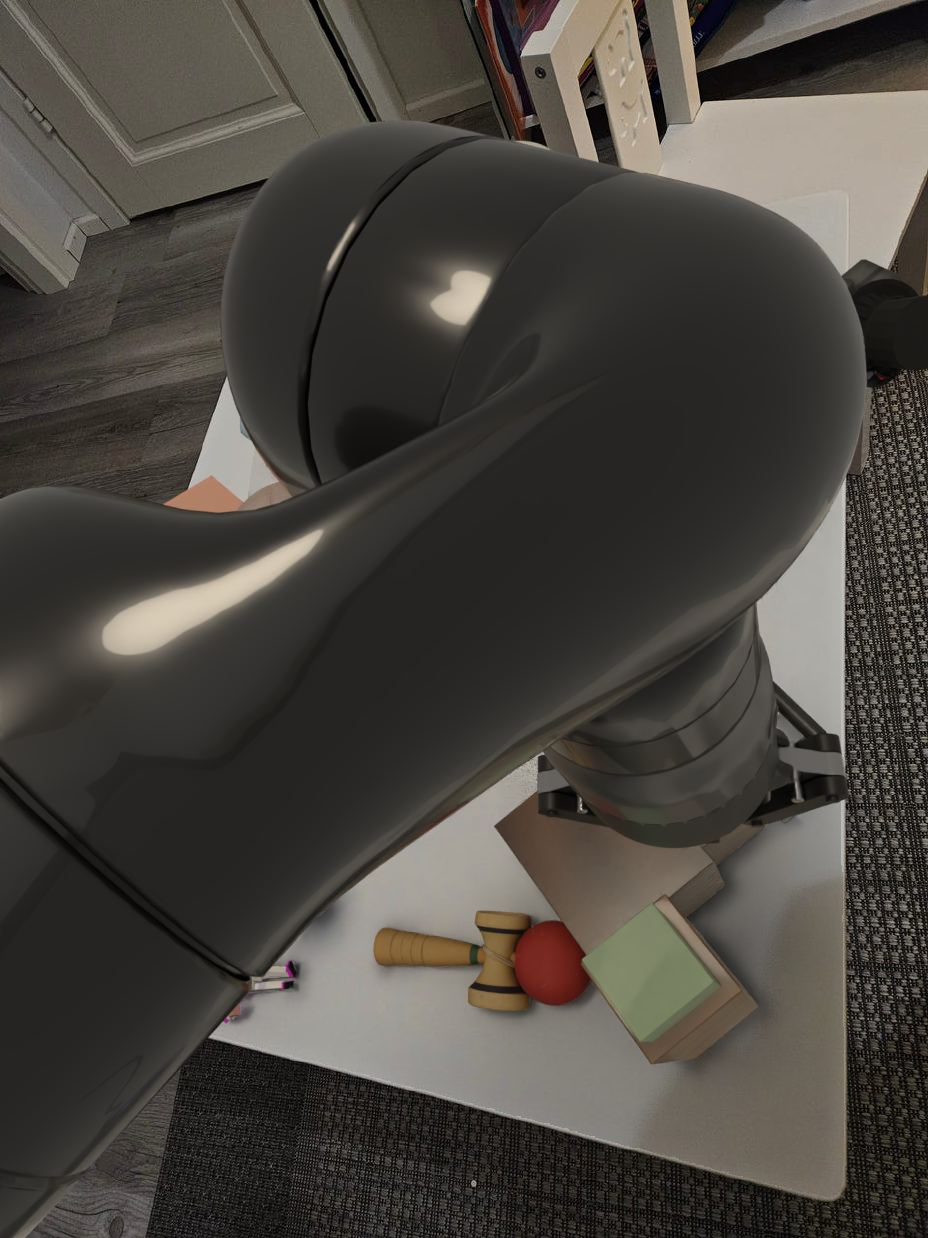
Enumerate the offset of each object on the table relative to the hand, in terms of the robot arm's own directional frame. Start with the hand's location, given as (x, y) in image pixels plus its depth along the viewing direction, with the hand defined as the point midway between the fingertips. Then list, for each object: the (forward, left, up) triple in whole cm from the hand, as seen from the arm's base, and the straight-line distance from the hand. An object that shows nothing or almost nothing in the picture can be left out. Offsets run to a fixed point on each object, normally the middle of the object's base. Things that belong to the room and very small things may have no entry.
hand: (702, 823), depth 43 cm
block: (-3, +7, -5) cm, 9 cm away
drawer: (+7, -6, -26) cm, 28 cm away
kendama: (+8, +18, -27) cm, 34 cm away
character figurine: (+17, +33, -25) cm, 45 cm away
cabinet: (+7, +5, -27) cm, 29 cm away
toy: (+46, -37, -25) cm, 64 cm away
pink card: (+65, +20, -25) cm, 72 cm away
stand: (-3, +7, -27) cm, 28 cm away
